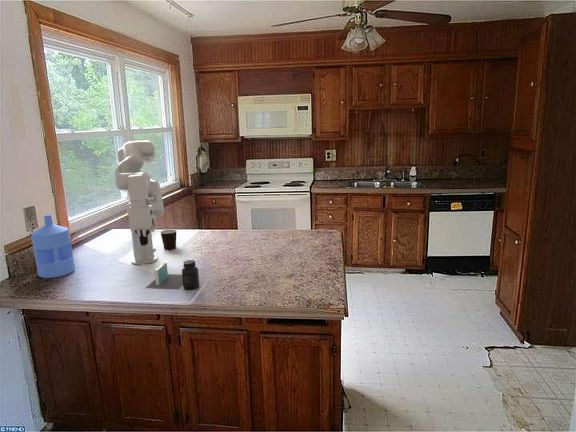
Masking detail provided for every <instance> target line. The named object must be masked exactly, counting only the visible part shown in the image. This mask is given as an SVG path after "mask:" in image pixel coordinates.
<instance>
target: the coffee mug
mask: <svg viewBox="0 0 576 432" xmlns="http://www.w3.org/2000/svg"><path fill="white" fill-rule="evenodd" d="M160 236H161V241H162V245H163V249H164V251H173V250H175V249H176V248H177V229H173V228H171V229H169V228H168V229H163V230H161V231H160Z"/></svg>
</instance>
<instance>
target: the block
mask: <svg viewBox="0 0 576 432" xmlns="http://www.w3.org/2000/svg"><path fill="white" fill-rule="evenodd" d="M167 264H168V263H167V262H162V263H161V264H160V265H159V266H158V267H156V268H155V269H154V277H155V279H156V285H160V284H161V283H162V282H163V281H164V280H165V279H166V278H168V274H169V271H168V265H167ZM155 279H154V280H155Z"/></svg>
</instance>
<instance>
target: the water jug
mask: <svg viewBox="0 0 576 432" xmlns="http://www.w3.org/2000/svg"><path fill="white" fill-rule="evenodd" d="M52 216H53V215H45V216H43V219H44V225H42V226H41V227H38V228H37V229H36V230H33V231H32V232H31V233H30V235H31V236H30V237H31V238H30V239H31V243H32V248H33V254H34V255H33V256H34V260H35V262H36V263H35V264H36V268H37V269H36V271H37V272H36V273H37V276H38V277H40V278H43V279H55V278H60V277H63V276H67V275H69V274H71V273H73V272H74V271H75V269H76V266H75V262H74V261H75V260H74V255H73V254H74V253H73V252H74V251H73V248H72V242H71V234H70V230H69V228H68V227H67V226H61V225H58V224H55V223H53V218H52Z"/></svg>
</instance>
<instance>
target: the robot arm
mask: <svg viewBox="0 0 576 432" xmlns="http://www.w3.org/2000/svg"><path fill="white" fill-rule="evenodd" d="M155 157H156V148H155V145H154V143H153V142H151V141H150V140H133V141H127V142H125V143H124V144H123V146H122V147H120V148H119V149H117V160H118V165H117V166H116V168H115V171H114V178H115V180H114V181H115V186H116V188H117V189H118V190H119V191H127V194H128V195H127V196H128V197H129V202H128V203H127V205H126V207H125V208H126V214H127V217H128V224H129V229H130V232H131V241H132V251H133V258H131V260H130V262H131V264H133V265H136V266H137V265H138V266H140V265H148V264H149V265H150V264H152V263H154V262H156V261H158V256H157V255H155V254H154V253H155V252H156V251H157V248H154V246H153V244H154V243H153V236H152V233H153V232H155V231H156V228H155V227H156V225H157V223H156V219H157V218H162V217H163V216H164V214H165V213H164V212H165V211H164V210H165V209H164V208H165V207H164V200H163V196H162V195H163V194H162V189H161V186H160V183H159V182H158V180H155V179H151V176H150V175H149V174H148V173H147V172H145V171H142V168H143V167H144V164H145V163H152V162H153V161H154V160H155Z"/></svg>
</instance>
